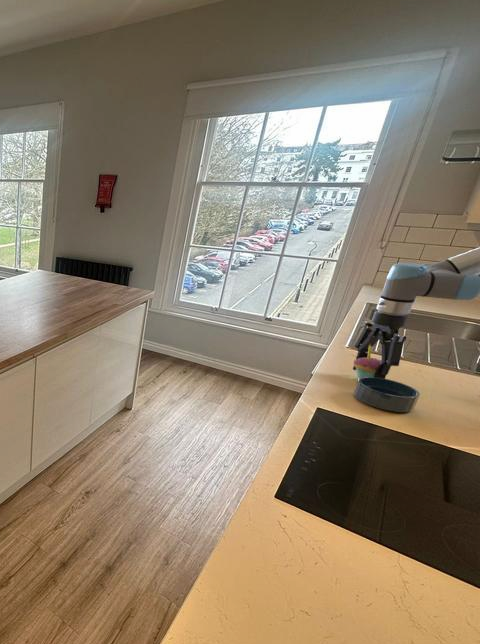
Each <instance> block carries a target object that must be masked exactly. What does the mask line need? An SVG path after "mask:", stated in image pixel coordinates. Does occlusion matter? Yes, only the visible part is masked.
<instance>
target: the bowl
mask: <svg viewBox="0 0 480 644" xmlns="http://www.w3.org/2000/svg"><path fill="white" fill-rule="evenodd" d="M420 395H421V394H420V392H419V391H418V390H417V389H416V388H414V387H413V386H410V385H408V384H405V383H404V382H403V383H402V382H399V381H397V380H394V379H393V380H392V379H388V378H385V379H384V378H378V377H362V378H358V380H357V382H356V386H355V388H354V391H353V396H354V398H355V399H357V400H358V401H360V402H362V403H364V404H366V405H367V406H370V407H373V408H375V409H379V410H384V411H388V412H395V413H409V412H410V413H411V412H412V411H414V409H415V407H416V405H417V402H418V400H419V398H420Z"/></svg>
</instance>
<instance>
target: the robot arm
mask: <svg viewBox="0 0 480 644" xmlns="http://www.w3.org/2000/svg"><path fill="white" fill-rule="evenodd" d="M479 274H480V247H477V248H474V249H471V250H469V251H466V252H464V253H461V254H458V255H455V256H452V257H449V258H447V259H444V260H440V261H437V262H435V263H422V264H419V263H411V262H399V263H395V264H393V265H392V266H391V267H390V270H389V272H388V274H387V276H386V280H385V283H384V286H383V289H382V291H381V295H380V297H379V299H378V303H377V306H376V310H375V311H374V313H373V315H372V318H371V322H365V323H364V326H363V329H362V331H361V333H360V335H359V337H358V338H357V341H356V342H355V344H354V348H355V349H357V354H356V356H355V360H356V359H358V358H363V357H368V349H369V346H370V344H371V346H372V348H373V347H374V345H376V344H377V342H378V341H379V344H380V345H381V361H382V363H379V364H378V367H377V369H376V372H375V375H374V377H378V378H384V379H386V377H387V375H389V372H390V370H391V367H399V366H400V362H401V358H402V352H403V347H404V343H405V342H406V340H407V336H406V335H401V334H400V328H403V327H404V326H405V325H406V322H407V320H408V317H409V316H408V315H410V313H411V310H412V309H413V305H414V303H415V300H416V298H417V297H422V298H435V299H444V300H445V299H446V300H454V301H472V300H474V299H475V298H477V297H478V296H479V295H480V275H479ZM352 370H353V371H356V367H355V366H354V365H353V367H352Z"/></svg>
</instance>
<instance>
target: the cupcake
mask: <svg viewBox="0 0 480 644" xmlns="http://www.w3.org/2000/svg"><path fill="white" fill-rule="evenodd" d="M372 348H373V347H372V346H371V344H370V346H369V349H368V352H367V353H368V357H363V358H358V359H356V358H355V359H354V361H353V367H354V366H355V367H356V370H355V371H356V373H355V374H356V377H357V378H358V379H359V378H362V377H374V375H375V372H376V369H377V367H378V364H379V363H382V359H378V358H374V357H371V355H372Z"/></svg>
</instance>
